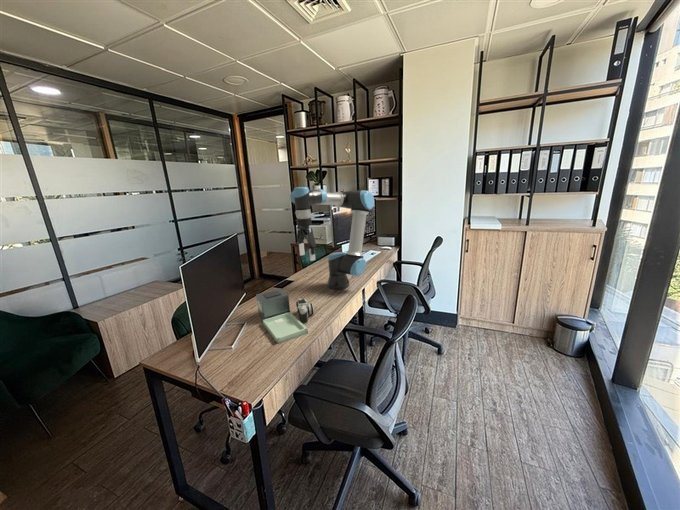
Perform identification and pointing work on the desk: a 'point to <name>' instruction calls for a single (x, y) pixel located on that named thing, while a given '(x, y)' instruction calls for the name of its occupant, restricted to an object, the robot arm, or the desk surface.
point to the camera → (304, 310)
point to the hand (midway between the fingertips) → (307, 257)
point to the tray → (284, 327)
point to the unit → (272, 303)
